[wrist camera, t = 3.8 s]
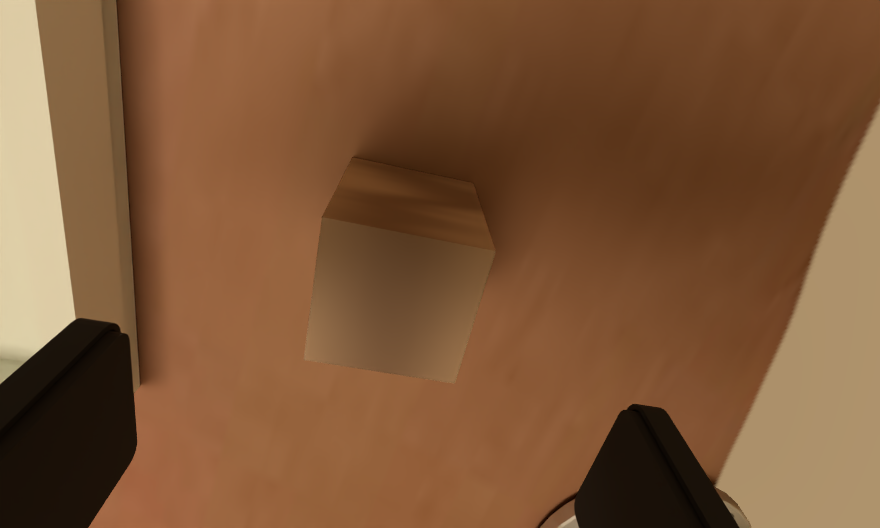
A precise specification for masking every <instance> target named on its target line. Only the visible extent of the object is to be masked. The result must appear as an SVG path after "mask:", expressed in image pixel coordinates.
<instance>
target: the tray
mask: <svg viewBox="0 0 880 528" xmlns="http://www.w3.org/2000/svg"><path fill="white" fill-rule="evenodd" d="M78 318H86V319H92V320H98V321H105V322H111V323H116V324H118V325H119V327H120V330H121V333H126V334H128V336H129V339H130V349H131V363H132V377H133V391H134V393H135V392H136V390H137V389H138V388H139V387H140V378H139V361H138V345H137V329H136V313H135V296H134V280H133V264H132V248H131V231H130V215H129V199H128V183H127V166H126V150H125V134H124V117H123V101H122V85H121V69H120V52H119V36H118V20H117V4H116V0H0V384H1V383H2V382H3V381H4V380H5V379H7V378H8V377H9V376H10V375H11V374H12V373H13V372H15V371H16V370H17V369H18V368H19V367H20V366H22V365H23V364H24V363H25V362H26V361H27V360H28V359H30V358H31V357H32V356H33V355H34V354H35V353H36V352H38V351H39V350H40V349H41V348H42V347H43V346H45V345H46V344H47V343H48V342H49V341H50V340H51V339H53V338H54V337H55V336H56V335H57V334H58V333H60V332H61V331H62V330H63V329H64V328H65V327H66V326H68V325H69V324H70V323H71V322H72V321H74V320H76V319H78Z"/></svg>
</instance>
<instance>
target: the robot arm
mask: <svg viewBox="0 0 880 528" xmlns="http://www.w3.org/2000/svg"><path fill="white" fill-rule="evenodd" d="M136 447H137V432H136V418H135V405H134V391H133V377H132V363H131V349H130V339H129V336H128V334H126V333H121V330H120V327H119V325H118V324H116V323H111V322H105V321H98V320H92V319H86V318H78V319H76V320H74V321H72V322H71V323H70V324H69V325H68V326H66V327H65V328H64V329H63V330H62V331H61V332H60V333H58V334H57V335H56V336H55V337H54V338H53V339H51V340H50V341H49V342H48V343H47V344H46V345H45V346H43V347H42V348H41V349H40V350H39V351H38V352H36V353H35V354H34V355H33V356H32V357H31V358H30V359H28V360H27V361H26V362H25V363H24V364H23V365H22V366H20V367H19V368H18V369H17V370H16V371H15V372H13V373H12V374H11V375H10V376H9V377H8V378H7V379H5V380H4V381H3V382H2V383H1V384H0V528H88V527H89V526H90V524H91V522H92V521H93V519H94V518H95V516H96V515H97V513H98V512H99V510H100V509H101V507H102V506H103V504H104V503H105V501H106V499H107V498H108V496H109V495H110V493H111V492H112V490H113V489H114V487H115V486H116V484H117V483H118V481H119V480H120V478H121V476H122V475H123V473H124V472H125V470H126V469H127V467H128V466H129V464H130V462H131V461H132V459H133V456H134V454H135V451H136ZM540 528H751V525H750V523H749V521H748V520H747V518H746V517H745V515H744V514H743V512H742V511H741V509H740V507H739V506H738V504H737V503H736V502H735V501H734V500H733V499H732V498H731V497H729V496H728V495H727V494H726V493H725V492H723V491H721V490H719V489H717V488H716V487H714V486H713V485H712V483H711V481H710V480H709V478H708V477H707V475H706V473H705V472H704V470H703V469H702V467H701V466H700V464H699V462H698V461H697V459H696V458H695V456H694V455H693V453H692V451H691V450H690V448H689V447H688V445H687V443H686V442H685V440H684V439H683V437H682V436H681V434H680V432H679V431H678V429H677V428H676V426H675V424H674V423H673V421H672V420H671V418H670V417H669V415H668V414H667V412H666V411H665V410H664V409H662V408H658V407H652V406H645V405H639V404H632V405H631V406H629V407H628V409H627V410H623V411H621V412H620V414H619V415H618V417H617V419H616V421H615V423H614V425H613V427H612V428H611V430H610V432H609V434H608V436H607V438H606V440H605V442H604V444H603V446H602V447H601V449H600V451H599V453H598V455H597V457H596V459H595V461H594V463H593V465H592V466H591V468H590V470H589V472H588V474H587V476H586V478H585V480H584V482H583V484H582V485H581V487H580V489H579V491H578V493H577V495H576V498H575V499H573V500H572V501H570V502H568V503H566V504H565V505H564V506H562V507H561V508H560V509H559V510H557V511H556V512H555V513H553V514H552V515H551V516H550V517H549V518H548V519H547V520H546V521H545V523H544V524H543V525H542V526H541V527H540Z"/></svg>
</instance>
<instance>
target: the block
mask: <svg viewBox="0 0 880 528" xmlns="http://www.w3.org/2000/svg"><path fill="white" fill-rule="evenodd" d="M495 252H496V250H495V247H494V244H493V241H492V238H491V235H490V232H489V229H488V226H487V223H486V220H485V217H484V214H483V211H482V208H481V205H480V202H479V199H478V196H477V193H476V189H475V186H474V183H471V182H466V181H462V180H457V179H452V178H448V177H443V176H438V175H434V174H429V173H424V172H420V171H415V170H410V169H406V168H401V167H396V166H392V165H387V164H382V163H378V162H373V161H368V160H364V159H359V158H355V157H352V159H351V161H350V163H349V165H348V167H347V169H346V171H345V173H344V175H343V177H342V179H341V181H340V183H339V185H338V187H337V189H336V191H335V193H334V195H333V196H332V198H331V200H330V202H329V204H328V206H327V208H326V210H325V212H324V214H323V216H322V221H321V229H320V236H319V244H318V252H317V260H316V267H315V275H314V283H313V291H312V299H311V306H310V314H309V322H308V330H307V337H306V345H305V353H304V360H307V361H313V362H320V363H326V364H333V365H339V366H345V367H352V368H358V369H365V370H371V371H377V372H384V373H390V374H396V375H403V376H409V377H416V378H422V379H428V380H435V381H441V382H448V383H454V384H455V381H456V378H457V375H458V372H459V369H460V365H461V362H462V359H463V356H464V352H465V349H466V346H467V343H468V339H469V336H470V333H471V330H472V327H473V323H474V320H475V317H476V314H477V310H478V307H479V304H480V301H481V298H482V294H483V291H484V288H485V285H486V281H487V278H488V275H489V272H490V269H491V265H492V262H493V259H494V256H495Z"/></svg>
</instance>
